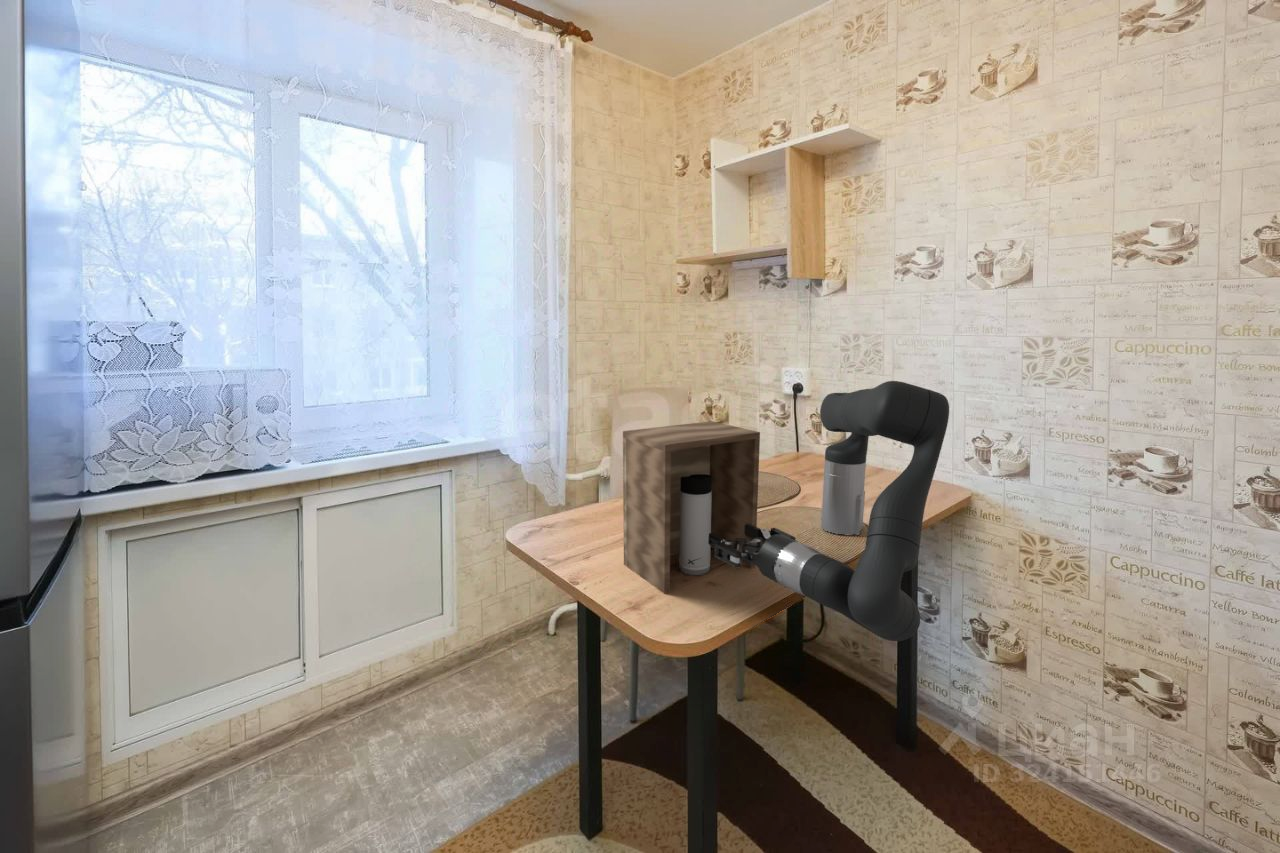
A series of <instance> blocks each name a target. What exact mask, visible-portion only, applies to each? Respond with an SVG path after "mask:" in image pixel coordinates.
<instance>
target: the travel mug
mask: <svg viewBox="0 0 1280 853" xmlns="http://www.w3.org/2000/svg"><path fill="white" fill-rule="evenodd" d="M680 485H681V487H680V550H679V553H678V554H679V557H678V559H679V560H678V562H679V564H678V566H679V570H680V572H682V573H684V574H686V575H689V576H702V575H705V574H708V573H709V572H710V570H711V548H712V547H711V545H709V544H708V541H709V533H711V502H712V494H711V493H712V490H711V486H712V476H711V475H706V474H695V475H690V476H687V477H681V482H680Z"/></svg>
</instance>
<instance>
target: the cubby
mask: <svg viewBox="0 0 1280 853" xmlns="http://www.w3.org/2000/svg"><path fill="white" fill-rule="evenodd" d="M760 440H761V432H760V431H756V430H752V429H747V428H743V427H739V426H734V425H730V424H726V423H721V422H718V421H712V420H711V421H710V420H709V421H702V422H692V423H691V422H690V423H684V424H683V423H682V424H675V425H673V424H672V425H667V426H666V425H665V426H656V427H649V428H640V429H631V430H623V431H622V471H623V472H622V481H623V482H622V488H623V489H622V490H623V491H622V492H623V493H622V495H623V496H622V498H623V502H622V503H623V505H622V506H623V508H622V509H623V512H622V513H623V516H622V517H623V565H624V566H625V567H627V568H628V569H630V570H631V571H632V572H634V573H636V574H637V575H638V576H640V577H641V578H642V579H643V580H645V581H646V582H648V583H649V584H650V585H651V586H653V587H654V588H655V589H657V590H659V591H660V592H661V593H663V594H667V593H668V594H669V593H670V591H671V590H670V587H671V581H670V579H671V578H670V577H671V575H670V574H671V571H670V569H671V556H673V555H676V554H679V550H680V487H681V485H680V482H681V477H687V476H690V475H695V474H706V475H711V476H712V486H711V490H712V493H711V494H712V502H711V533H715V534H717V535H719V536H721V537H723V538H725V539H729V540H735V538H742V539H749V540H750V539H752V538H750V537H748V536H746V535H745V533H744V531H745V525H746V524H750V525H753V526H755V527H757V528H758V526H757V524H758V522H757V521H758V500H759V498H758V497H759V496H758V495H759V473H760V472H759V469H760V468H759V467H760V444H761V441H760ZM727 546H729V547H731V548H733V545H728V544H727ZM711 548H712V549H714V550H715V547H713V546H711ZM742 549H743V544H739V551H740V552H741V553H743V551H742ZM741 565H744V566H746V567H748V568H749V569H752V568H756V564H754V563H750V562H747V561H744V562H741Z"/></svg>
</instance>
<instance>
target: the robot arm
mask: <svg viewBox="0 0 1280 853" xmlns="http://www.w3.org/2000/svg"><path fill="white" fill-rule="evenodd" d="M949 416H950V403H949V401H948V398H947V397H946V396H945V395H944V394H943V393H940V392H937V391H935V390H933V389H928V388H925V387H922V386H918V385H915V384H910V383H908V382H907V383H906V382H903V381H900V380H899V381H898V380H888V381H885V382H882V383H880V384H879V385H877V386H875V387H873V388H865V389H859V390H855V391H851V392H831V393H829V394H826V396H825V397H824V398H823V400H822V402H821V405H820V410H819V417H820V421H821V423H822V426H823V427H824V429H825V430H827V431H829V432H834V433H850V435H849V436H848V437H847V438H845V439H844V440H842V441H838V442H837V443H836V442H835V443H833V444H829V445H828V446H827V447H826V448H825V452H824V453H825V454H824V465H823V466H824V469H823V485H822V487H823V488H822V501H821V502H822V503H821V516H820V517H821V518H820V520H821V522H820V527H822V528H823V529H824V530H823V529H822V528H821V529H822V530H823V531H825V530H826V532H827V531H828V532H827V533H830V532H832V533H831V534H833V533H835V534H834V535H838V534H858V535H859V534H861V532H862V530H863V528H864V527H863V526H864V515H865V513H864V512H865V501H866V500H865V499H866V490H865V479H866V468H867V454H868V448H869V438H870V437H876V436H880V437H883V438H886V439H890V440H893V441H896V442H900V443H903V444H906V445H909V446H912V447H913V454H912V457H911V460H910V461H909V463H908V465H907V467H905V469H904V470H903V471H902V472H901V473H900V474H899V475H898V476H896V478H895V479H894V480H893V481H892V482H890V483H889V484H888V485H887V486H886V487H885V488H884V489H883V490H882V491H881V492H880V494H879V495H878V496H877V498H876V499H875V501H874V503H873V505H872V508H871V511H870V515H869V520H868V527H867V534H866V538H865V547H864V550H863V552H862V553H861V556H860V558H859V560H858V562H857V565H856V566H855V569H853V568H852V567H851V566H849V565H847V564H845V563H844V562H842V561H840V560H838V559H835V558H833V557H832V556H831V557H830V556H828V555H826V554H824V553H822V552H820V551H819V550H817V549H815V548H813V547H812V546H809V545H807V544H805V543H803V542H799V541H798V540H796V536H793V535H791V534H790V533H787V532H785V531H782V530H780V529H779V528H776V527H771V528H770V530H768V529H767V528H759V527H758V526H757V527H755V526H753V525H750V524H746V525H745V531H744V533H745V535H746V536H748V537H750V538H752V539H750V540H749V539H742V538H735V540H729V539H725V538H723V537H721V536H719V535H717V534H715V533H709V541H708V544H709V545H711V546H713V547H715V549H714V554H713V556H714V558H716V559H718V560H720V561H721V562H724V563H726V564H727V565H730V566H731V567H734V568H736V569H737V568H741V567H742V563H741V562H744V561H747V562H750V563H754V564H755V566H756V567H757V568H758V570H759V572H760V573H761V574H762V576H764V577H766V578H768V579H769V580H772V581H773V582H775V583H777V584H779V585H780V586H783V587H784V588H786V589H788V590H790V591H792V592H794V593H796V594H799V595H801V596H802V595H803V596H805V597H806V598H808V599H810V600H812V601H814V602H816V603H818V604H820V605H821V606H823V607H826V608H829V609H831V610H833V611H836V612H838V613H840V614H842V615H843V616H845V617H846V618H847V619H849V620H851V621H853V622H854V623H856V624H858V625H859V626H860V627H862V628H863V629H866V630H867V631H869V632H870V633H872V634H874V635H875V636H877V637H879V638H881V639H883V640H886V641H890V642H902V641H906V640H908V639H910V638H911V637H913V636H915V634H916V633H917V632H918V630H919V628H920V625H921V614H920V611H919V607H918V605H917V603H916V602H915V601H914V600H913V598H911V597H910V596H909V595H908V594H907V593H906V592H904V591H903V590H902V589H901V583H902V578H903V575H904V573H907V572H910V571H911V570H913V569H914V568H915V566H916V565H917V563H918V559H919V554H920V547H921V539H922V531H923V530H922V528H923V521H924V515H925V509H926V503H927V501H928V496H929V492H930V489H931V485H932V481H933V480H934V475H935V472H936V468H937V465H938V462H939V458H940V455H941V450H942V447H943V442H944V439H945V435H946V432H947V428H948V423H949V418H950V417H949ZM862 527H863V528H862ZM861 529H862V530H861ZM860 531H861V532H860ZM859 536H860V535H859ZM727 544H728V545H733V548H731V547H729V546H727ZM739 544H743V549H742V551H743V553H741V552H740V551H739Z"/></svg>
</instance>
